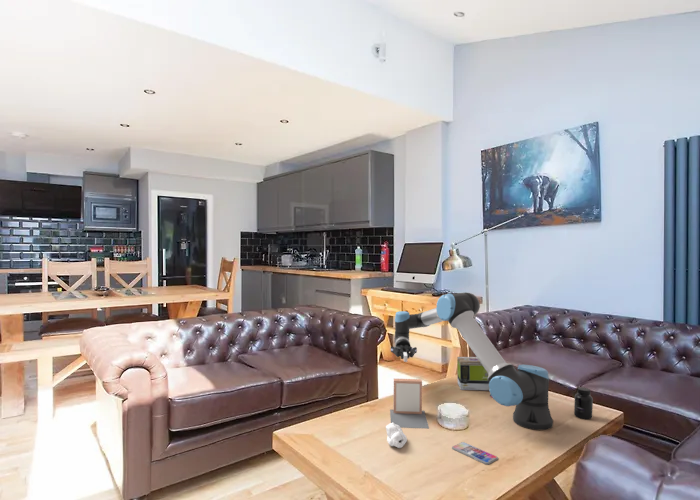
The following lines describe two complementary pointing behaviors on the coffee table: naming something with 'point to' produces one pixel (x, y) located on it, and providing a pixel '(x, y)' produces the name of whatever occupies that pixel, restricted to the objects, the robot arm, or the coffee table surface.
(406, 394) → the tile
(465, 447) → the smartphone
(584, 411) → the supplement bottle
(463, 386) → the tea box
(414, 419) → the mat
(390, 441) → the white lumpy piece
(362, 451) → the coffee table surface
